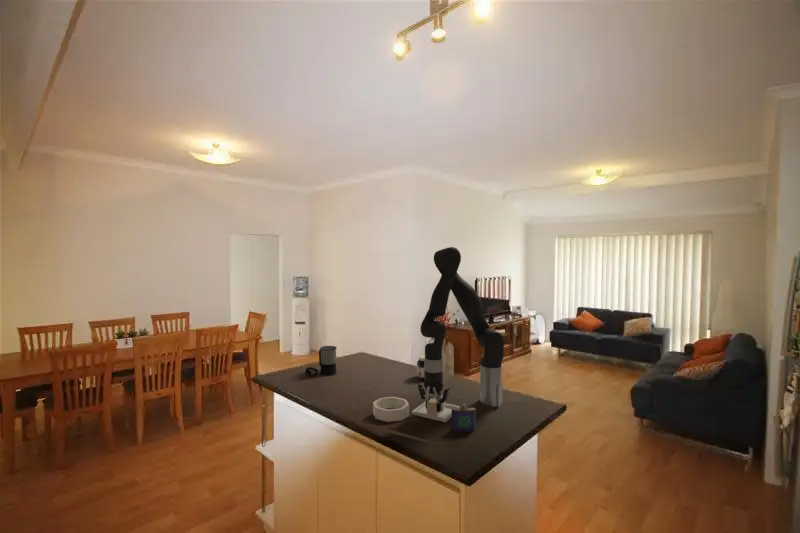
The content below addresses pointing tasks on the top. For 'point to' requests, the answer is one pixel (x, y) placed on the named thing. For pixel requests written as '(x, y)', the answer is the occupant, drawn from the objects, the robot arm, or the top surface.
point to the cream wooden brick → (432, 407)
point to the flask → (463, 419)
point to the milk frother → (325, 361)
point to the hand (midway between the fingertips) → (433, 410)
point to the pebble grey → (443, 405)
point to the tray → (442, 416)
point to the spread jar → (420, 367)
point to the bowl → (391, 414)
